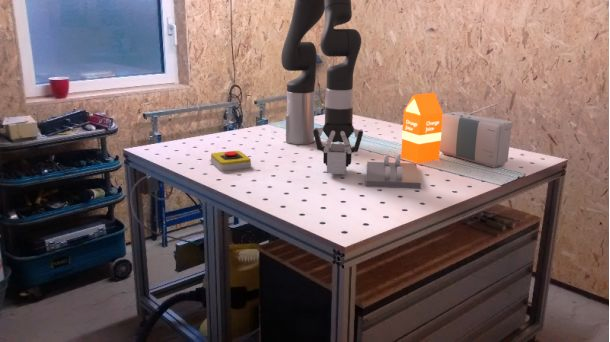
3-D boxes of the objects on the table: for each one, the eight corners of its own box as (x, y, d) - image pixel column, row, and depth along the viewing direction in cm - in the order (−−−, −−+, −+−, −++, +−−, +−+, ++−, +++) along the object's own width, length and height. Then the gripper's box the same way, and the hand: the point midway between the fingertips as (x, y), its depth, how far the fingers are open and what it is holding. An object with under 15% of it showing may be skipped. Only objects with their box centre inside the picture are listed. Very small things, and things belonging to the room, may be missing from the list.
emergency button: (222, 160, 154) (207, 147, 167) (222, 175, 155) (208, 161, 168) (253, 156, 157) (237, 144, 170) (254, 171, 159) (237, 158, 172)
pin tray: (366, 186, 145) (366, 169, 144) (367, 166, 162) (367, 151, 161) (420, 188, 143) (421, 171, 142) (415, 168, 160) (416, 153, 159)
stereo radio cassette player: (436, 154, 175) (441, 91, 170) (453, 150, 180) (458, 88, 174) (494, 170, 160) (501, 101, 154) (510, 165, 164) (518, 98, 158)
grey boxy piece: (326, 173, 151) (327, 151, 149) (329, 163, 160) (329, 143, 158) (345, 174, 151) (345, 152, 149) (346, 164, 159) (347, 143, 157)
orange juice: (439, 159, 170) (444, 94, 164) (417, 163, 165) (422, 96, 159) (421, 153, 176) (426, 90, 170) (400, 157, 172) (404, 92, 166)
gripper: (311, 106, 147) (310, 168, 152) (365, 108, 145) (362, 170, 151) (314, 101, 154) (313, 160, 159) (366, 103, 152) (363, 162, 158)
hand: (337, 165), depth 155 cm, fingers closed on grey boxy piece, 5 cm apart
